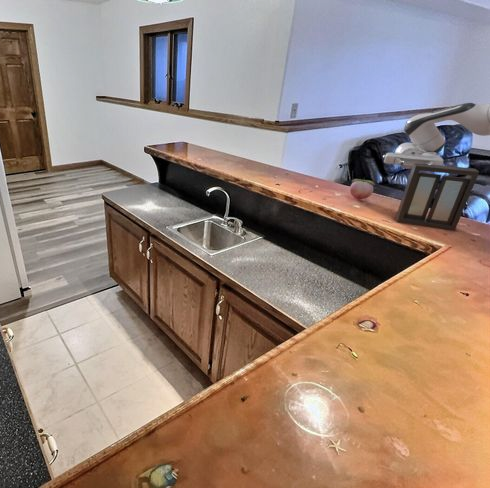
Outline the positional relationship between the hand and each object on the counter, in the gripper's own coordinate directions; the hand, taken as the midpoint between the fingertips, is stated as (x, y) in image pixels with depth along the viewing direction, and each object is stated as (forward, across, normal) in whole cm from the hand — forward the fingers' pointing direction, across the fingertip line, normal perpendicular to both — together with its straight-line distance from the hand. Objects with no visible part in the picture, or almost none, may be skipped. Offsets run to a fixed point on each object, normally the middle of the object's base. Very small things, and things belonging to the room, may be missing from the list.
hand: (415, 164), depth 138 cm
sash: (+14, +2, +16) cm, 22 cm away
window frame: (+17, +6, +18) cm, 25 cm away
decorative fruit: (-3, -16, +18) cm, 25 cm away
